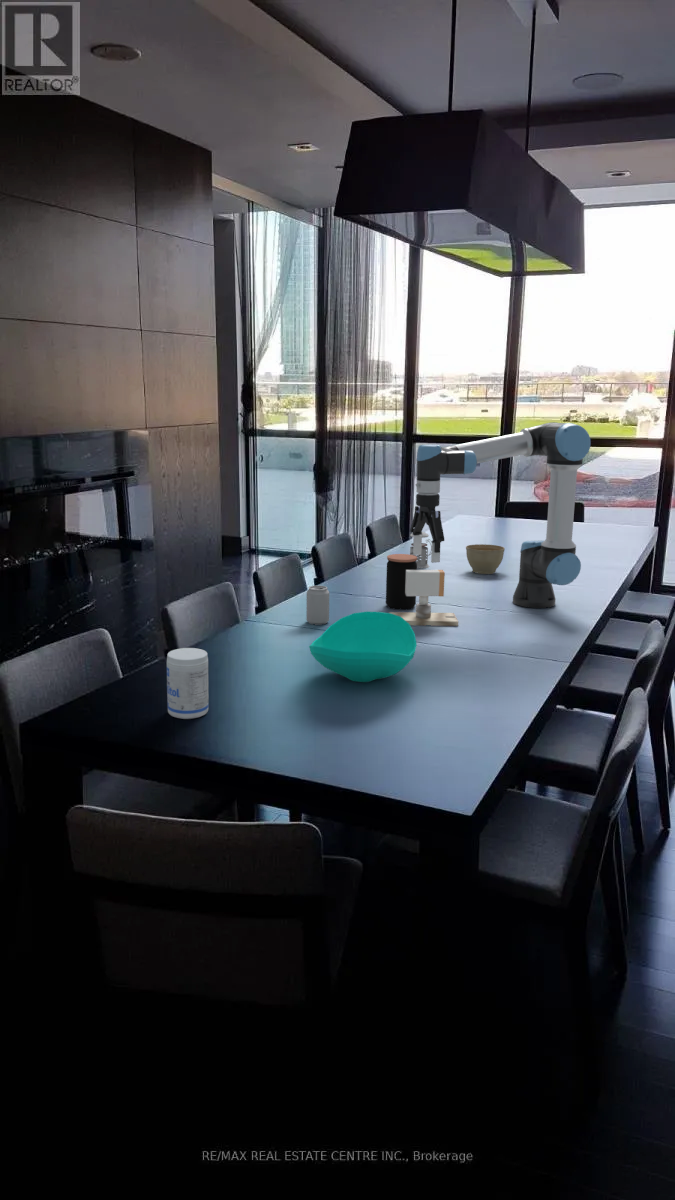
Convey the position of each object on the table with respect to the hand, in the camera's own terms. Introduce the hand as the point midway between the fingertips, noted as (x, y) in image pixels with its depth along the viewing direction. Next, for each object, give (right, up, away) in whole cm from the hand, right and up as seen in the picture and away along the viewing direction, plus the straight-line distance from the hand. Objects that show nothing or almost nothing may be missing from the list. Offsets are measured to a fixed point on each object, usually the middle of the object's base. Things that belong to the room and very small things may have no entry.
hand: (426, 558), depth 282 cm
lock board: (-1, -21, +5) cm, 21 cm away
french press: (+7, +1, +94) cm, 94 cm away
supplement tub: (-64, -40, -78) cm, 109 cm away
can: (-35, -21, +1) cm, 41 cm away
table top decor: (-22, -34, -52) cm, 66 cm away
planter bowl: (+33, -2, +84) cm, 90 cm away
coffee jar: (-7, -16, +24) cm, 30 cm away
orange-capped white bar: (0, -15, +4) cm, 15 cm away
